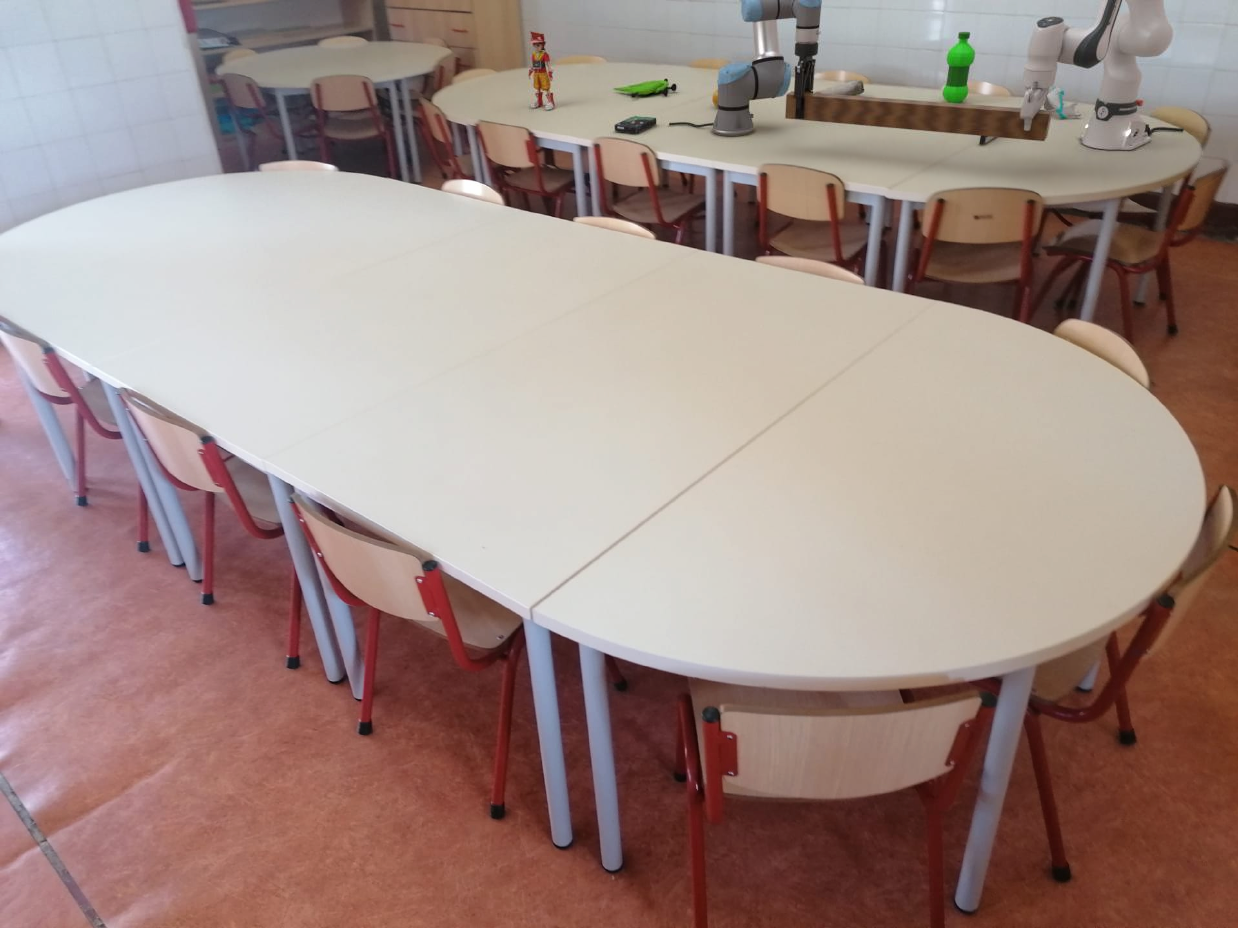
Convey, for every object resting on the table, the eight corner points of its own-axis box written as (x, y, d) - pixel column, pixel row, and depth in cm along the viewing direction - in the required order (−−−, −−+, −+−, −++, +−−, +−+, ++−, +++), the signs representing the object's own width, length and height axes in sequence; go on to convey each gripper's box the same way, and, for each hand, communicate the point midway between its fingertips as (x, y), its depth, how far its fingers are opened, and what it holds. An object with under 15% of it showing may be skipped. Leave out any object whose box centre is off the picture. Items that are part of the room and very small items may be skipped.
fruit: (706, 100, 364) (717, 82, 360) (712, 103, 371) (722, 85, 368) (723, 111, 362) (734, 93, 359) (728, 114, 370) (739, 96, 367)
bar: (785, 118, 307) (786, 94, 303) (790, 115, 310) (791, 91, 306) (1044, 141, 270) (1050, 114, 266) (1046, 137, 273) (1052, 110, 269)
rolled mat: (839, 85, 375) (856, 69, 367) (851, 103, 375) (868, 87, 367) (800, 103, 358) (817, 87, 350) (813, 122, 358) (830, 107, 350)
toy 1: (525, 109, 381) (517, 32, 364) (534, 104, 388) (527, 28, 371) (550, 110, 377) (543, 32, 360) (559, 105, 384) (553, 28, 367)
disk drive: (637, 135, 339) (656, 124, 349) (637, 127, 338) (656, 117, 348) (614, 132, 344) (634, 122, 354) (613, 125, 343) (633, 115, 353)
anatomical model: (1037, 86, 333) (1064, 79, 332) (1036, 115, 339) (1062, 107, 338) (1056, 96, 321) (1084, 88, 320) (1055, 125, 327) (1082, 118, 326)
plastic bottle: (973, 101, 354) (984, 32, 339) (955, 106, 349) (966, 36, 335) (952, 97, 361) (962, 29, 346) (934, 102, 356) (944, 33, 342)
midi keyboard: (982, 145, 305) (985, 130, 303) (979, 144, 306) (981, 129, 303) (1003, 133, 316) (1006, 118, 313) (999, 132, 317) (1002, 118, 314)
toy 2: (686, 85, 398) (631, 84, 414) (685, 72, 395) (629, 72, 411) (651, 104, 381) (596, 103, 397) (650, 92, 378) (594, 91, 394)
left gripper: (808, 47, 285) (803, 123, 298) (827, 37, 297) (821, 111, 311) (786, 46, 288) (782, 121, 301) (805, 36, 301) (800, 109, 314)
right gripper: (1043, 87, 256) (1033, 137, 264) (1056, 72, 270) (1046, 120, 278) (1020, 86, 259) (1010, 135, 267) (1034, 71, 273) (1024, 118, 281)
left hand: (802, 116), depth 306 cm, fingers closed on bar, 5 cm apart
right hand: (1029, 127), depth 272 cm, fingers closed on bar, 5 cm apart
